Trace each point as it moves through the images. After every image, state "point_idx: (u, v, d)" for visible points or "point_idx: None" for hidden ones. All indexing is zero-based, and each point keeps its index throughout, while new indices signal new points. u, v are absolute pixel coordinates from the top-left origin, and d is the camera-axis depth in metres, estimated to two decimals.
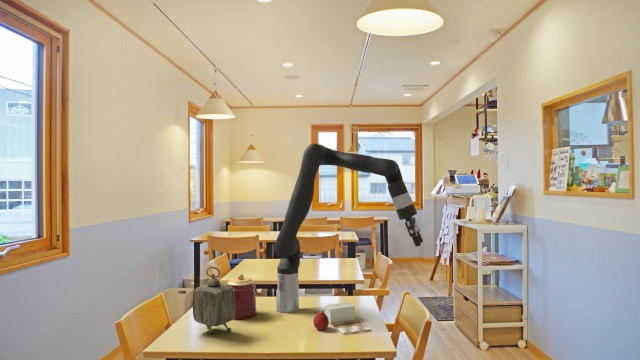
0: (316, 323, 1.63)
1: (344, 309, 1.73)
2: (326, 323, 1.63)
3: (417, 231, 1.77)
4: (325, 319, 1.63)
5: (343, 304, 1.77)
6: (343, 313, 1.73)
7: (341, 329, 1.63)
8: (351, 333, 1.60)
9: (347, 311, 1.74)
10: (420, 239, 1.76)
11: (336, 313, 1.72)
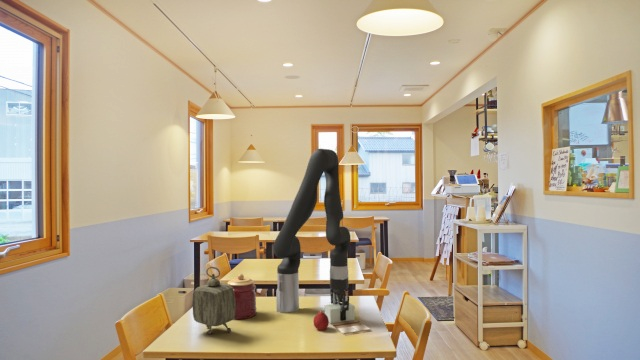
0: (316, 323, 1.63)
1: None
2: (326, 323, 1.63)
3: (337, 303, 1.79)
4: (325, 319, 1.63)
5: None
6: None
7: (341, 329, 1.63)
8: (351, 333, 1.60)
9: (347, 311, 1.74)
10: None
11: (336, 313, 1.72)
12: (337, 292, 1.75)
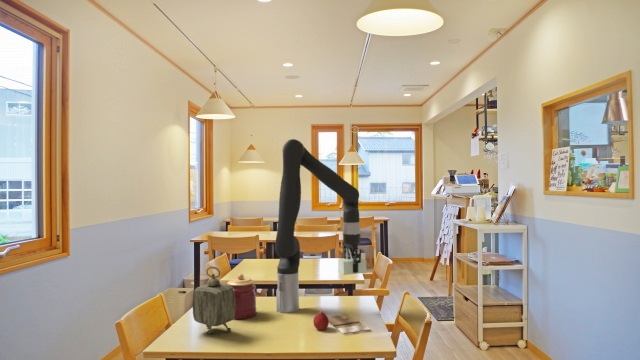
0: (316, 323, 1.63)
1: None
2: (326, 323, 1.63)
3: (350, 258, 1.92)
4: (325, 319, 1.63)
5: None
6: None
7: (341, 329, 1.63)
8: (351, 333, 1.60)
9: (359, 264, 1.87)
10: None
11: (349, 266, 1.85)
12: (350, 247, 1.88)
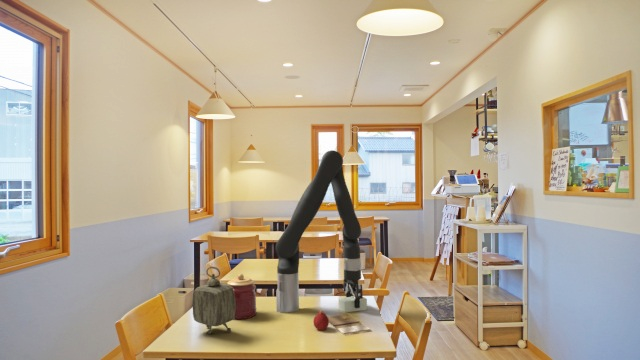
0: (316, 323, 1.63)
1: None
2: (326, 323, 1.63)
3: (349, 292, 1.94)
4: (325, 319, 1.63)
5: None
6: None
7: (341, 329, 1.63)
8: (351, 333, 1.60)
9: (360, 303, 1.88)
10: None
11: (350, 305, 1.86)
12: (350, 282, 1.89)
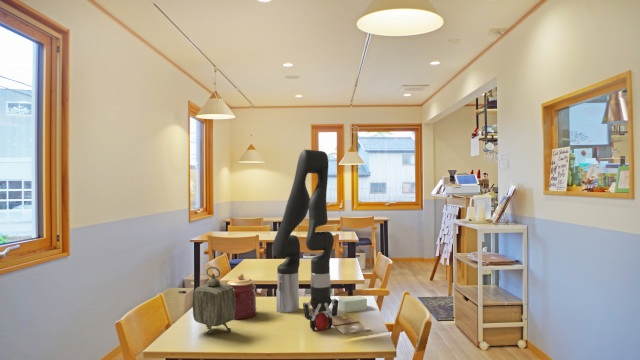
0: (316, 323, 1.63)
1: (357, 301, 1.87)
2: (326, 323, 1.63)
3: None
4: (325, 319, 1.63)
5: (356, 297, 1.91)
6: (356, 305, 1.87)
7: (341, 329, 1.63)
8: (351, 333, 1.60)
9: (360, 303, 1.88)
10: None
11: (350, 305, 1.86)
12: None
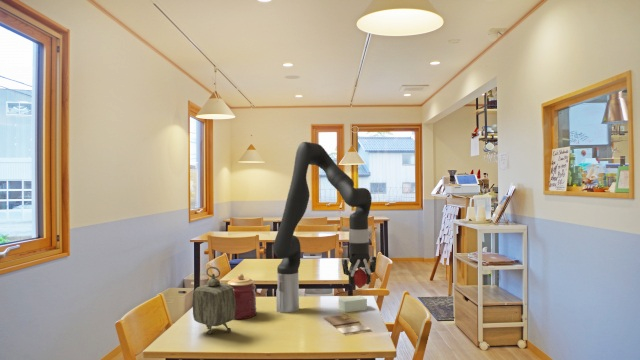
0: (355, 279, 1.62)
1: (357, 301, 1.87)
2: (365, 279, 1.63)
3: None
4: (364, 275, 1.63)
5: (356, 297, 1.91)
6: (356, 305, 1.87)
7: (341, 329, 1.63)
8: (351, 333, 1.60)
9: (360, 303, 1.88)
10: (367, 281, 1.65)
11: (350, 305, 1.86)
12: None
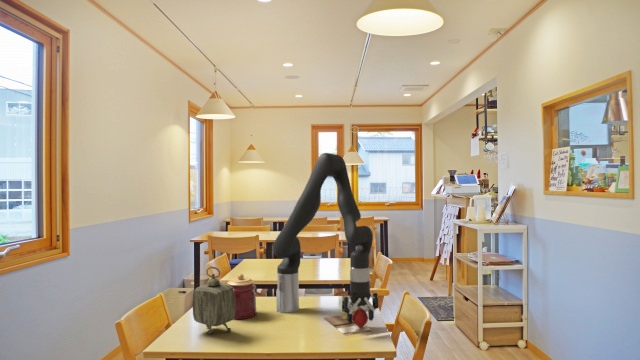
0: (356, 319, 1.63)
1: None
2: (366, 319, 1.63)
3: None
4: (364, 315, 1.63)
5: None
6: None
7: (341, 329, 1.63)
8: (351, 333, 1.60)
9: None
10: (370, 317, 1.66)
11: None
12: None
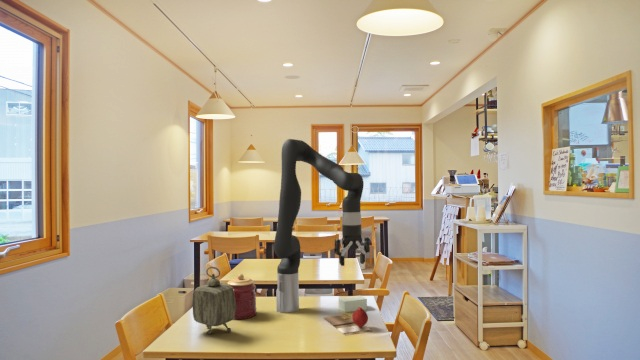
0: (356, 319, 1.63)
1: (357, 301, 1.87)
2: (366, 319, 1.63)
3: (362, 252, 1.72)
4: (365, 315, 1.63)
5: (356, 297, 1.91)
6: (356, 305, 1.87)
7: (341, 329, 1.63)
8: (351, 333, 1.60)
9: (360, 303, 1.88)
10: (361, 260, 1.72)
11: (350, 305, 1.86)
12: None
